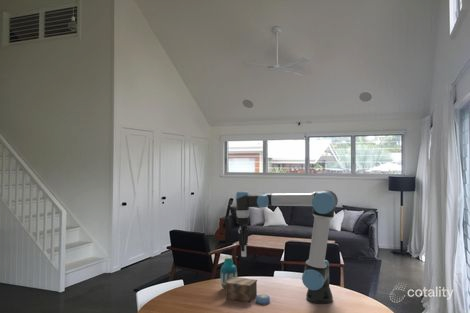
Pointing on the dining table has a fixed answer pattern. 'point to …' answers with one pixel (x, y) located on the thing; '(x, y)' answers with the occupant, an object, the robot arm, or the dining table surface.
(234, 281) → the lid
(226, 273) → the vase
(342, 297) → the dining table surface
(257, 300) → the blue beige round disc
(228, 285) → the box
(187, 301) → the dining table surface
